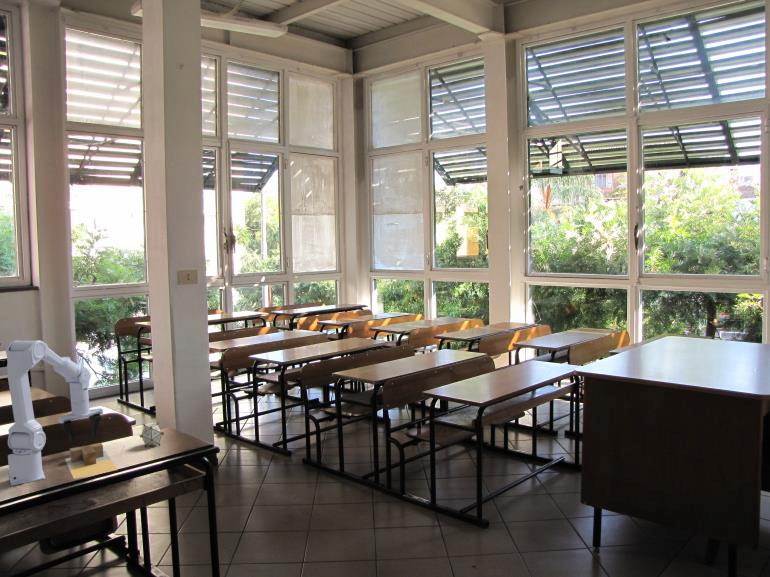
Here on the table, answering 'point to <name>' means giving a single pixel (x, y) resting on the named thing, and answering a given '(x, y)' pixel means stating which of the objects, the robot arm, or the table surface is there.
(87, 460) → the T block
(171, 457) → the table surface
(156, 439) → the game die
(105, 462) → the mat
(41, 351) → the robot arm
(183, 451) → the table surface
